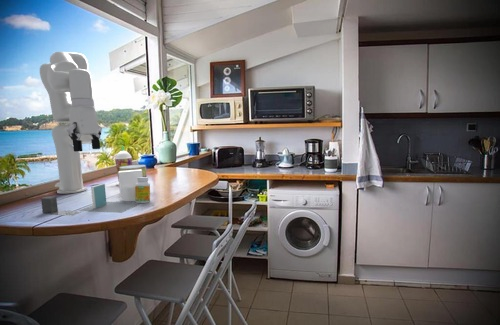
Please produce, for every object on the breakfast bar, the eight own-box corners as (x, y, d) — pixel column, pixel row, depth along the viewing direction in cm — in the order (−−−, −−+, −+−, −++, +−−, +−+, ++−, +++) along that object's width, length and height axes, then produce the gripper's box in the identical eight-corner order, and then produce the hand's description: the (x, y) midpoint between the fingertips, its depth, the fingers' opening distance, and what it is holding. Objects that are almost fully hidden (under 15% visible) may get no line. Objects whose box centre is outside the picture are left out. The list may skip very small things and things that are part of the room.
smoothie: (117, 182, 170) (113, 145, 167) (133, 181, 173) (130, 144, 171) (117, 185, 162) (113, 146, 160) (134, 183, 166) (131, 145, 163)
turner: (39, 215, 112) (37, 199, 111) (51, 211, 116) (50, 195, 116) (73, 217, 108) (71, 200, 107) (84, 213, 113) (82, 196, 112)
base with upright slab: (121, 203, 125) (118, 173, 123) (120, 198, 133) (117, 170, 131) (145, 200, 128) (142, 171, 127) (143, 196, 136) (140, 168, 135)
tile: (93, 208, 116) (90, 186, 115) (104, 204, 122) (102, 183, 121) (95, 208, 116) (93, 186, 115) (107, 204, 122) (105, 183, 121)
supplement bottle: (136, 203, 120) (136, 177, 120) (134, 202, 125) (134, 177, 125) (151, 202, 123) (151, 177, 123) (148, 201, 127) (148, 177, 127)
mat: (78, 212, 114) (77, 210, 114) (103, 203, 127) (102, 201, 126) (121, 214, 110) (121, 212, 110) (143, 204, 122) (142, 202, 122)
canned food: (151, 189, 149) (150, 164, 147) (141, 195, 138) (139, 168, 136) (128, 190, 150) (126, 165, 148) (116, 195, 139) (114, 168, 137)
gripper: (90, 105, 127) (94, 148, 129) (55, 103, 110) (61, 152, 112) (106, 104, 126) (110, 148, 128) (74, 102, 109) (79, 152, 111)
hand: (87, 150), depth 120 cm, fingers open, 9 cm apart
